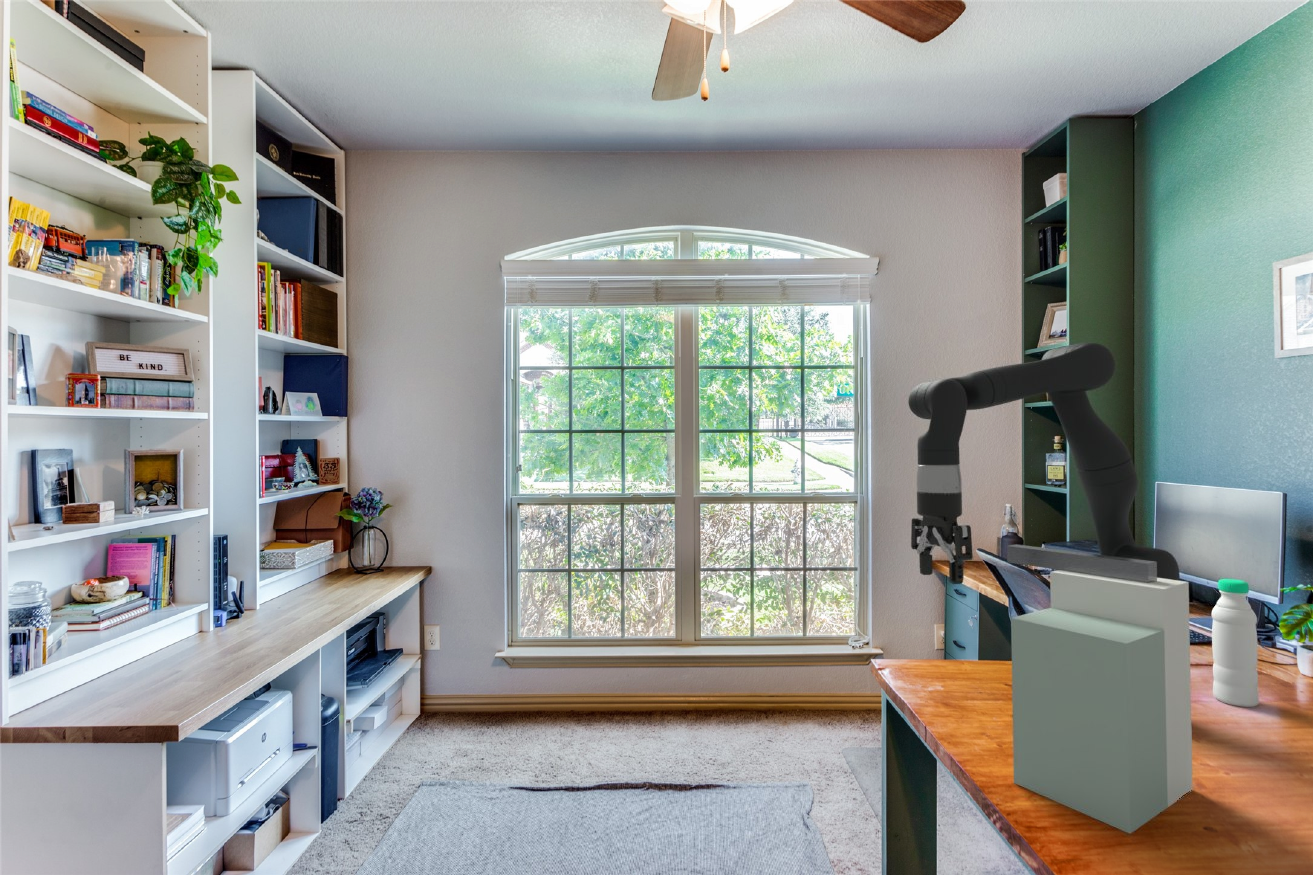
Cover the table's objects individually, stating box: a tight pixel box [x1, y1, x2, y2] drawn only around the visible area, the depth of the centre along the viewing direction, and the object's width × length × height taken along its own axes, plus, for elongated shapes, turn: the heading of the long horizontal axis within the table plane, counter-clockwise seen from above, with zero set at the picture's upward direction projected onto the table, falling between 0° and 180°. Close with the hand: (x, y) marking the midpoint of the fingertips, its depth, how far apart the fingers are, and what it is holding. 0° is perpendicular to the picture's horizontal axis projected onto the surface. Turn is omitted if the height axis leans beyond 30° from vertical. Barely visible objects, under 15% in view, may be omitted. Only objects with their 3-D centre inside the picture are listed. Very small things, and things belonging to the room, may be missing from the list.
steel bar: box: [1006, 543, 1157, 583], centre depth 110 cm, size 22×3×3 cm, turn 32°
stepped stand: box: [1010, 570, 1194, 835], centre depth 101 cm, size 16×21×32 cm
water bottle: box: [1211, 578, 1260, 708], centre depth 134 cm, size 7×7×25 cm
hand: (940, 578), depth 117 cm, fingers open, 8 cm apart
